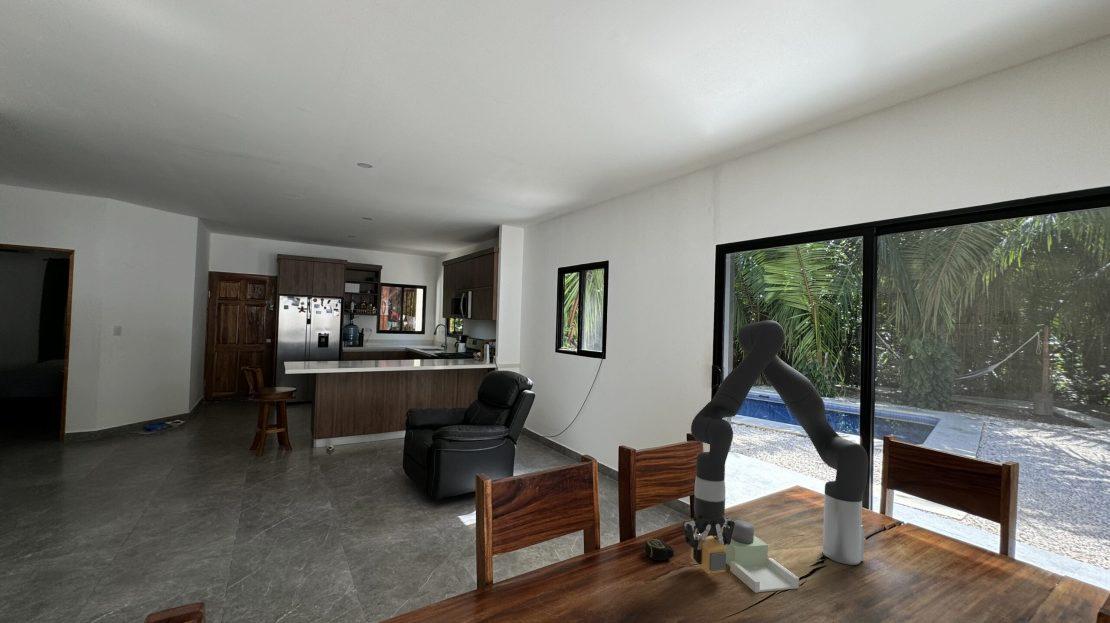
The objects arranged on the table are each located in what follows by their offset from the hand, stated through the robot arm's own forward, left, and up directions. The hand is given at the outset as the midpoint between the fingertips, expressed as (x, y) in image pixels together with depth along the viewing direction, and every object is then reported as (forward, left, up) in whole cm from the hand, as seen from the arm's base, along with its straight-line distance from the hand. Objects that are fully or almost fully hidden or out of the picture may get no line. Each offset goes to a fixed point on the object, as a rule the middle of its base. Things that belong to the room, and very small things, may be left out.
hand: (707, 561), depth 120 cm
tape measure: (+8, -12, -4) cm, 15 cm away
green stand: (-14, 0, -4) cm, 14 cm away
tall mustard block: (0, 0, -1) cm, 1 cm away
